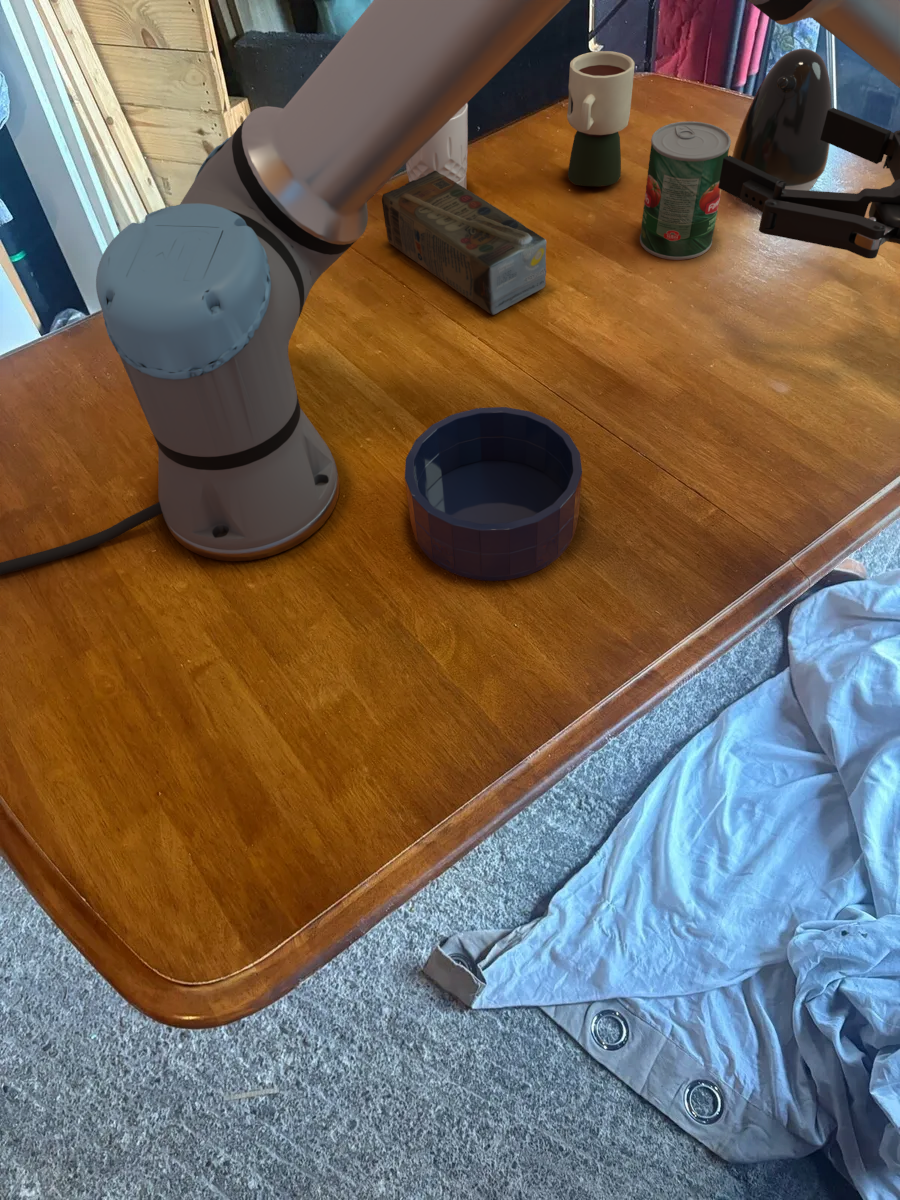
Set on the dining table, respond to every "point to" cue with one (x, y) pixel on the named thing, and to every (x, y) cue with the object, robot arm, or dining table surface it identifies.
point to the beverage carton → (465, 241)
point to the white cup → (444, 151)
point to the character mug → (598, 115)
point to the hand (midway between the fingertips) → (776, 147)
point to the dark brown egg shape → (789, 121)
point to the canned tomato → (683, 189)
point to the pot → (493, 492)
